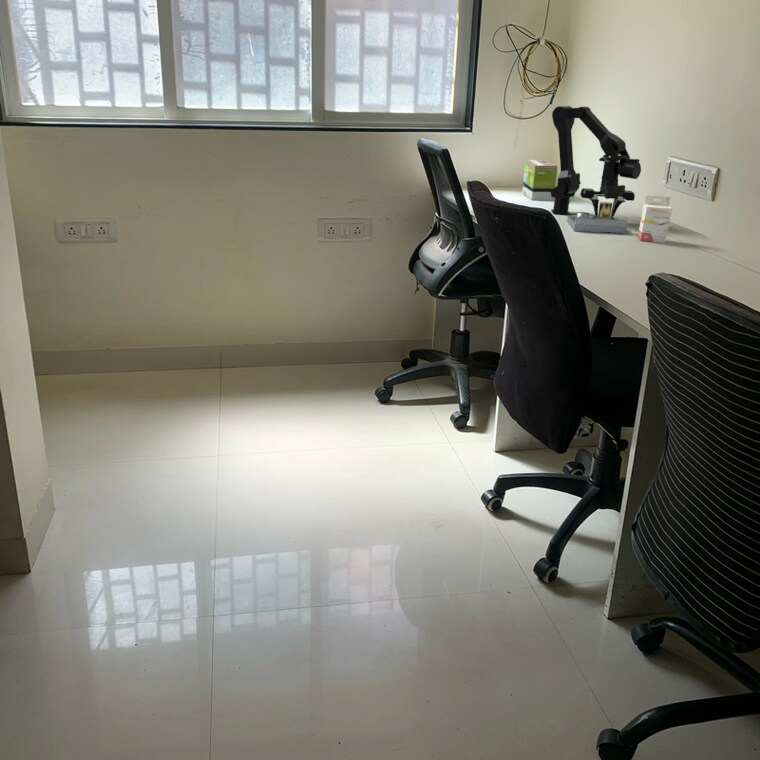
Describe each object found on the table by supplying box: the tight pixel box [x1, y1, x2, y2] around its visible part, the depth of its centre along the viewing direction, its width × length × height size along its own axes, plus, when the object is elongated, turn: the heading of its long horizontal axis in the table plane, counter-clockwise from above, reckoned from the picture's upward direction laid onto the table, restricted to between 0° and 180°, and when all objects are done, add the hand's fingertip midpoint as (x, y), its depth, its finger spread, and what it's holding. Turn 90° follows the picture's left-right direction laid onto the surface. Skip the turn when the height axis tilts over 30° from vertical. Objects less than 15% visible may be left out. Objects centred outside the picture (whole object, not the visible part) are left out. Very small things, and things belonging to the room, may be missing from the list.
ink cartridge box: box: [637, 194, 673, 243], centre depth 263 cm, size 9×5×15 cm, turn 84°
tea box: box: [521, 159, 558, 202], centre depth 330 cm, size 15×10×15 cm, turn 6°
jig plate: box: [566, 214, 628, 234], centre depth 280 cm, size 16×18×4 cm
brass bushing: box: [597, 201, 613, 217], centre depth 290 cm, size 4×4×7 cm
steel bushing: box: [576, 211, 591, 218], centre depth 280 cm, size 4×4×5 cm
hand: (603, 217), depth 290 cm, fingers open, 5 cm apart
